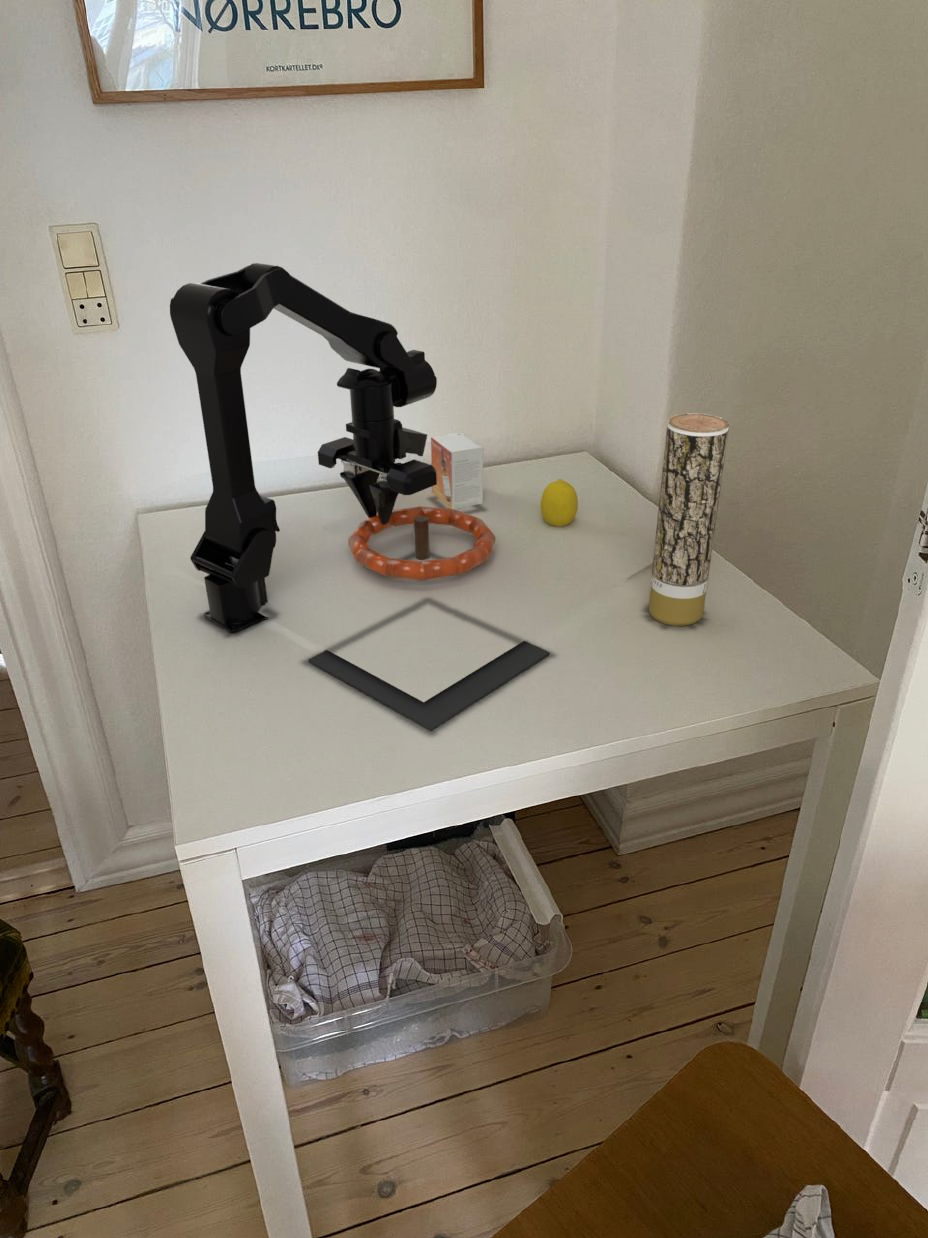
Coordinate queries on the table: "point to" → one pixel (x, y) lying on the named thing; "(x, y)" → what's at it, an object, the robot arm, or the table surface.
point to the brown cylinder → (421, 537)
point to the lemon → (559, 503)
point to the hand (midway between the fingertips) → (379, 521)
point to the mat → (448, 699)
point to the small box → (457, 470)
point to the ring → (424, 568)
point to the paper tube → (687, 516)
